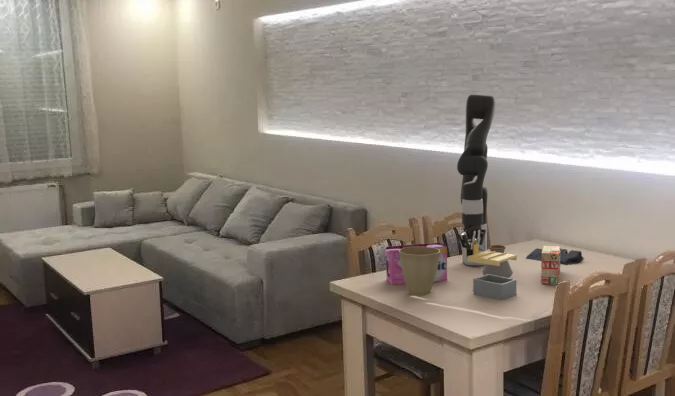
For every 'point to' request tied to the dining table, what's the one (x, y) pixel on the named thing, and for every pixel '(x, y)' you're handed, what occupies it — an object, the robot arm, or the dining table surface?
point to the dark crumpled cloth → (564, 256)
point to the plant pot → (419, 268)
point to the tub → (494, 286)
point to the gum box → (395, 268)
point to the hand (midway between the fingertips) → (472, 258)
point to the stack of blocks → (550, 264)
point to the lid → (488, 256)
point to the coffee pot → (501, 270)
